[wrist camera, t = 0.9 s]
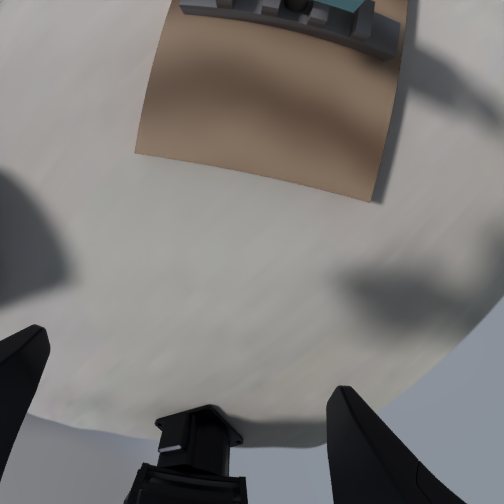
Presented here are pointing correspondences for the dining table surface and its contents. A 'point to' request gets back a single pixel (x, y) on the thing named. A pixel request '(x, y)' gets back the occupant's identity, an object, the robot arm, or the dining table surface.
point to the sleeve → (343, 4)
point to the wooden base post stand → (276, 89)
